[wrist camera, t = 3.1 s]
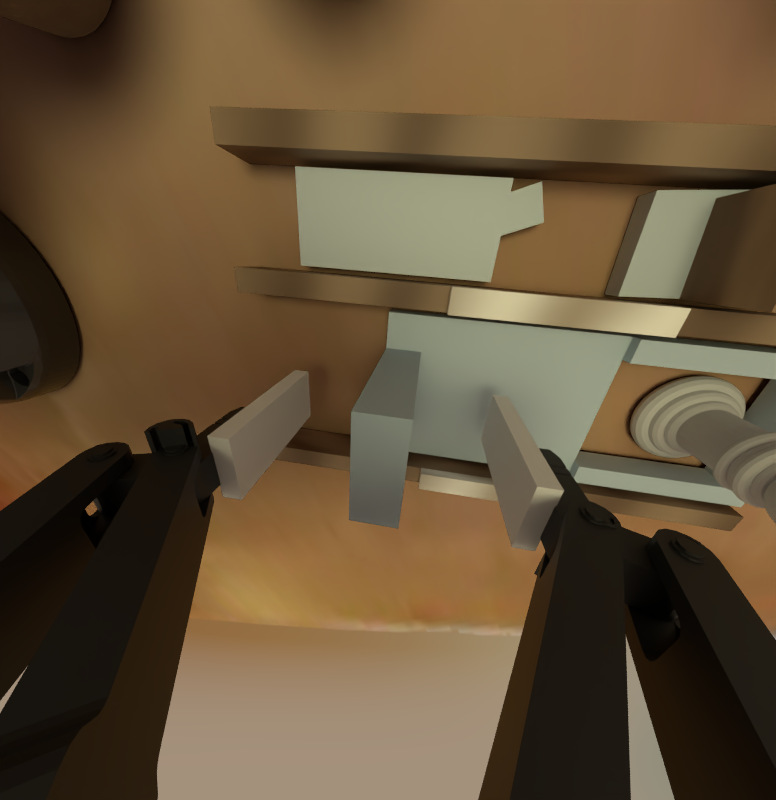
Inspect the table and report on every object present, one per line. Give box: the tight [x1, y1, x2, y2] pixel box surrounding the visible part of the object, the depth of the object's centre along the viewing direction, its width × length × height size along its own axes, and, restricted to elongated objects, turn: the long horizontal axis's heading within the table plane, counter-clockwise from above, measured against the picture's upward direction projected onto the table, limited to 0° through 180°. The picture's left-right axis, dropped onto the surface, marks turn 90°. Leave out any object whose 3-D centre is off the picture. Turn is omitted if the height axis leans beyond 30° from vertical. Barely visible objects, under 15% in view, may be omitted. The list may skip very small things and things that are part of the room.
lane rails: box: [209, 106, 776, 531], centre depth 15 cm, size 30×18×3 cm, turn 85°
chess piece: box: [630, 376, 776, 523], centre depth 13 cm, size 5×5×9 cm
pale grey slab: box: [349, 309, 776, 528], centre depth 13 cm, size 22×9×9 cm, turn 85°
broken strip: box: [295, 166, 748, 299], centre depth 13 cm, size 25×5×1 cm, turn 85°
